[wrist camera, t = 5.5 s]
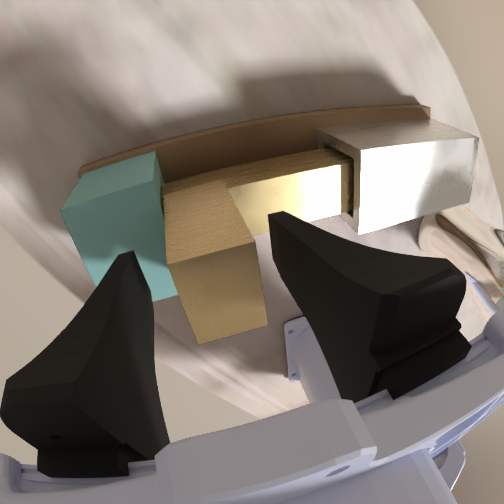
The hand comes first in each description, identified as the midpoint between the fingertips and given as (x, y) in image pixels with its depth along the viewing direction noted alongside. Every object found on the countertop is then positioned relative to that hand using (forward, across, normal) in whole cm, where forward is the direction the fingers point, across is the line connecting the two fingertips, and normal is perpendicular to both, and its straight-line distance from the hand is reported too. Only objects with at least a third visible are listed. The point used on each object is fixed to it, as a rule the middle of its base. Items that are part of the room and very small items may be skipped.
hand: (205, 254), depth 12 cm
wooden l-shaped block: (+5, -3, 0) cm, 6 cm away
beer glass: (+7, -20, +8) cm, 23 cm away
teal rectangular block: (+6, +3, 0) cm, 7 cm away
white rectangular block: (+6, -12, 0) cm, 13 cm away
